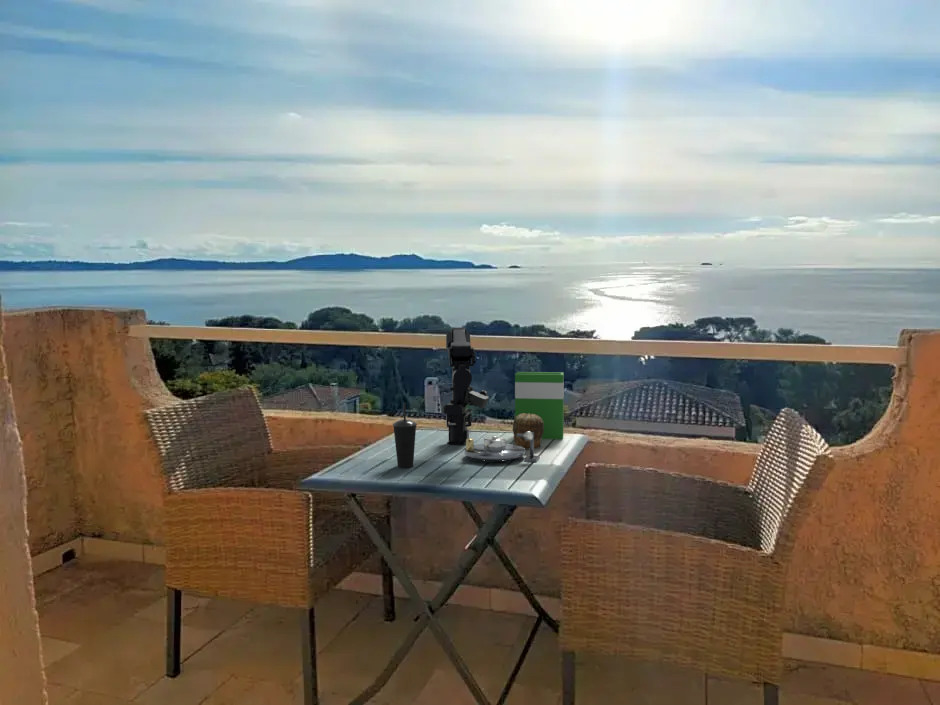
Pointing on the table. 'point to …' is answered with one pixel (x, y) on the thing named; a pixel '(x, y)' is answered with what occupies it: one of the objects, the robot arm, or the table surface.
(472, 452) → the platter
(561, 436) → the hardback book
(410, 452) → the drinking cup
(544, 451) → the table surface
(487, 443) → the cover
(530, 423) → the shell
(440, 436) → the table surface
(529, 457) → the dial stand
